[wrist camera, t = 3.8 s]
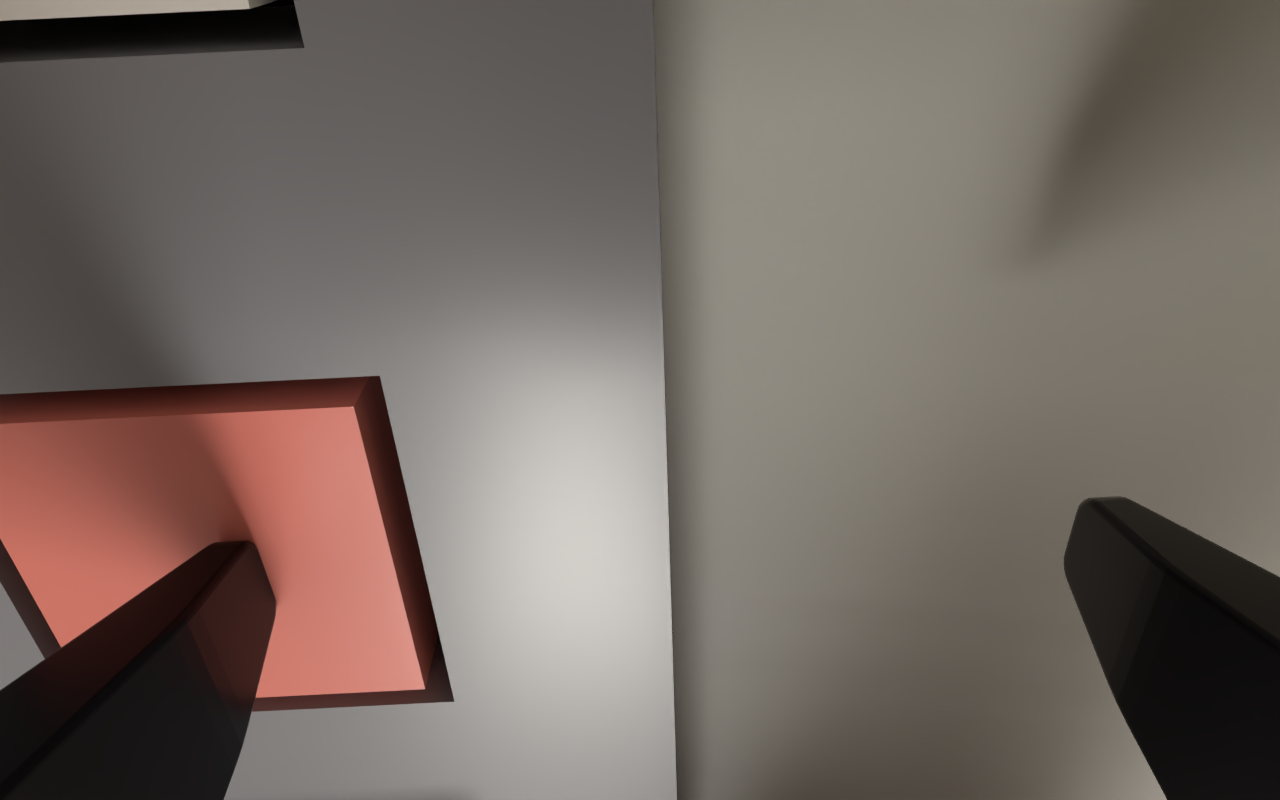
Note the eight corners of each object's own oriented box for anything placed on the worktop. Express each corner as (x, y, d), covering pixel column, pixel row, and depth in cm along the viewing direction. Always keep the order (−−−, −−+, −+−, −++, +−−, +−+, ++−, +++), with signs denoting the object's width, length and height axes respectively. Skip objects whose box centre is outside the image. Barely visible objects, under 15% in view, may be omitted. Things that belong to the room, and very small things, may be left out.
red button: (463, 528, 13) (425, 689, 10) (198, 541, 13) (93, 705, 10) (416, 284, 11) (354, 406, 8) (101, 298, 11) (-62, 427, 8)
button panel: (673, 862, 18) (684, 1052, 15) (214, 886, 18) (135, 1080, 15) (603, -1066, 6) (592, -2033, 3) (-802, -1004, 6) (-2237, -1916, 3)
